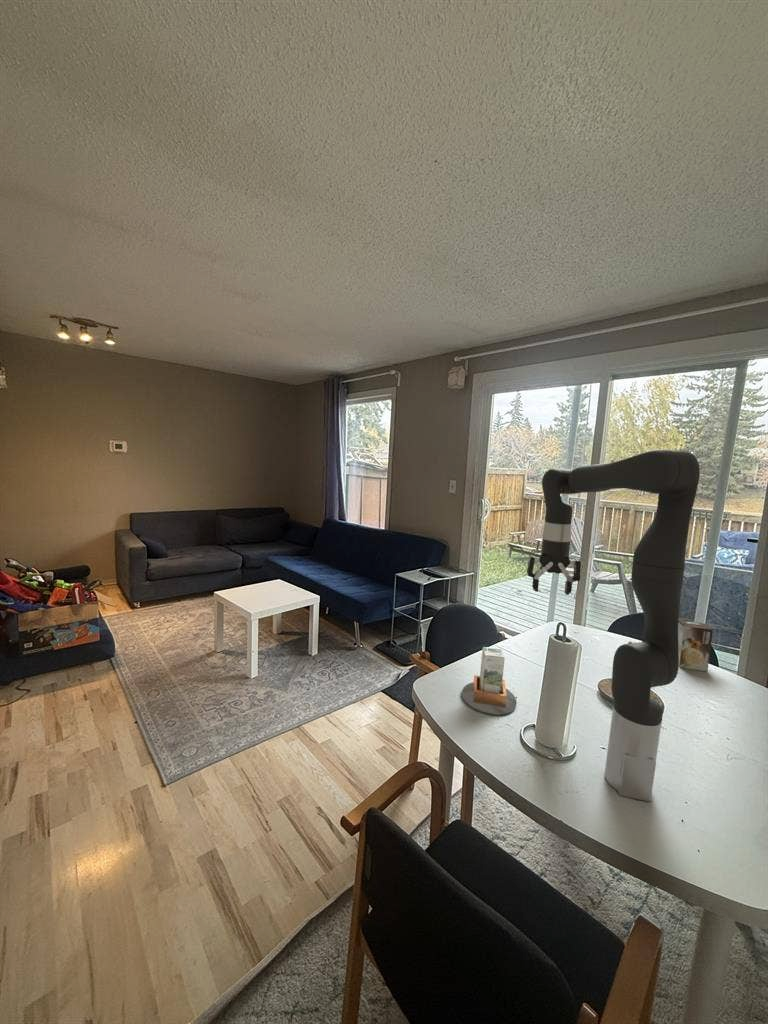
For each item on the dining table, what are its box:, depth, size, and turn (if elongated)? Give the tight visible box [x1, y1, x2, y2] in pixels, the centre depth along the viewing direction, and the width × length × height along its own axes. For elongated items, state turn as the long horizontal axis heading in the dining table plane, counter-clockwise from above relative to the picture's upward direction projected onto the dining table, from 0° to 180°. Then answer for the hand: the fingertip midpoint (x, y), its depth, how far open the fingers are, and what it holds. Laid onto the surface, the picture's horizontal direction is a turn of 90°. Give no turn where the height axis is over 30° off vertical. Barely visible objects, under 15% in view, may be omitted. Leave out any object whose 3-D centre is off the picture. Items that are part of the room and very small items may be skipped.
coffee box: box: [678, 619, 714, 672], centre depth 150 cm, size 9×6×16 cm
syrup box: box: [479, 646, 506, 694], centre depth 122 cm, size 6×6×14 cm
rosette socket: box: [461, 674, 517, 717], centre depth 123 cm, size 16×16×4 cm
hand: (551, 592), depth 119 cm, fingers open, 8 cm apart
